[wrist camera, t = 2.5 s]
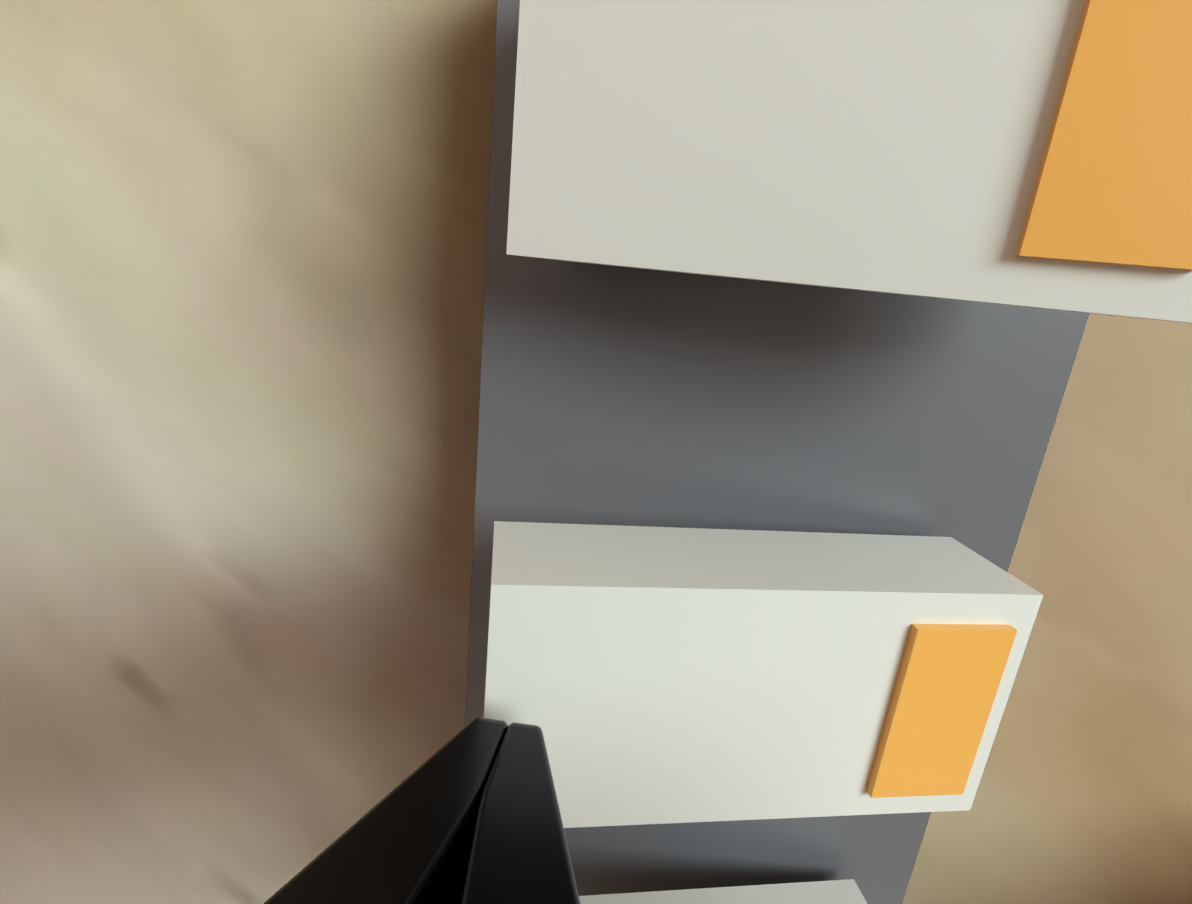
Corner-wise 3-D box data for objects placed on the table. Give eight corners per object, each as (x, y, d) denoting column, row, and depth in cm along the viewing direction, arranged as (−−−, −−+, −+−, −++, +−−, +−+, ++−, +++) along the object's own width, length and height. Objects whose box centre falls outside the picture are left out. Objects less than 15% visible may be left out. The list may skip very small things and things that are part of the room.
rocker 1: (1249, -45, 7) (1427, -176, 5) (1129, 318, 8) (1233, 326, 6) (581, -23, 9) (519, -108, 7) (559, 260, 10) (501, 254, 8)
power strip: (1158, -421, 10) (1449, -819, 7) (812, 902, 19) (851, 1060, 15) (575, -441, 11) (533, -818, 7) (492, 851, 20) (453, 992, 16)
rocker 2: (950, 537, 11) (1052, 600, 9) (897, 723, 12) (976, 817, 10) (493, 521, 10) (491, 590, 8) (482, 731, 11) (477, 840, 9)
